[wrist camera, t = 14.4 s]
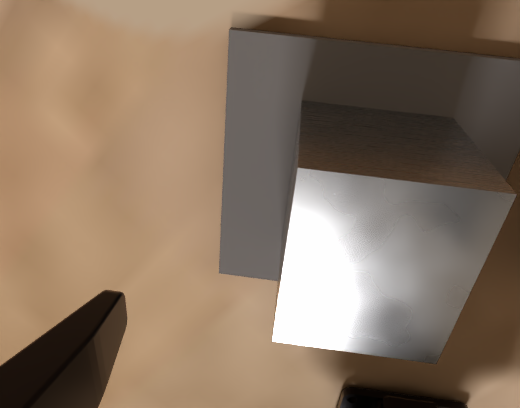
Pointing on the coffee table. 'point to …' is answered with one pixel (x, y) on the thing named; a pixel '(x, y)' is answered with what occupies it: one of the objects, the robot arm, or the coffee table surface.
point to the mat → (342, 93)
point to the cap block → (383, 231)
